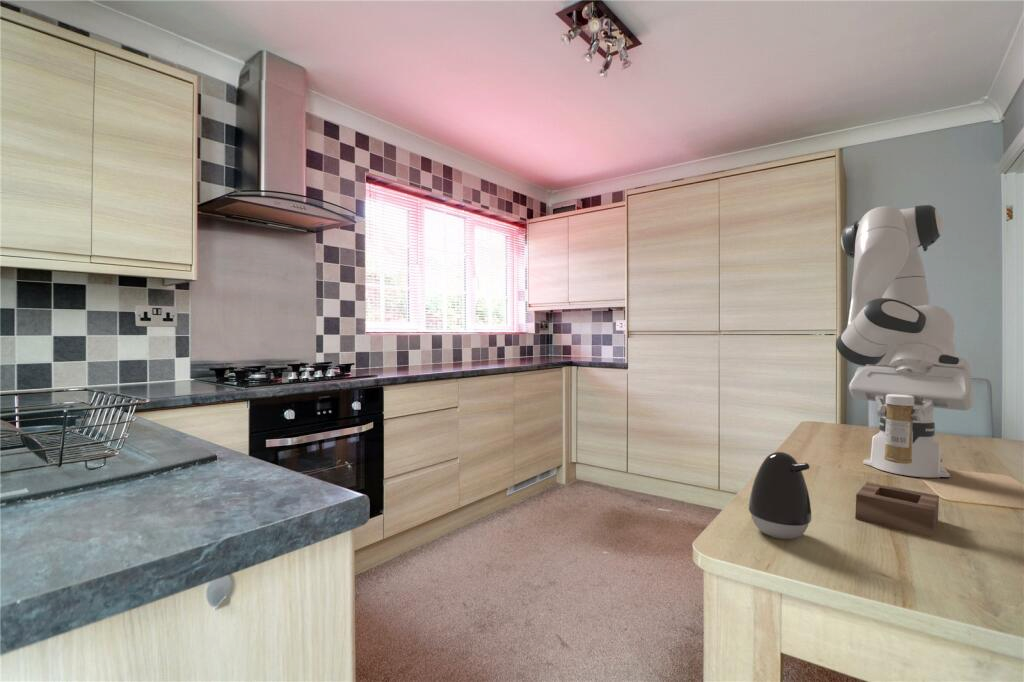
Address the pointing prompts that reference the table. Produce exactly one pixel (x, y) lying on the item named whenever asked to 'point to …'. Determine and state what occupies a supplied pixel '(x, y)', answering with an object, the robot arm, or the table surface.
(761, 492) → the pump dispenser
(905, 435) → the sprinkles bottle
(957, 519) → the table surface
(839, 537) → the table surface
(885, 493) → the spice caddy
